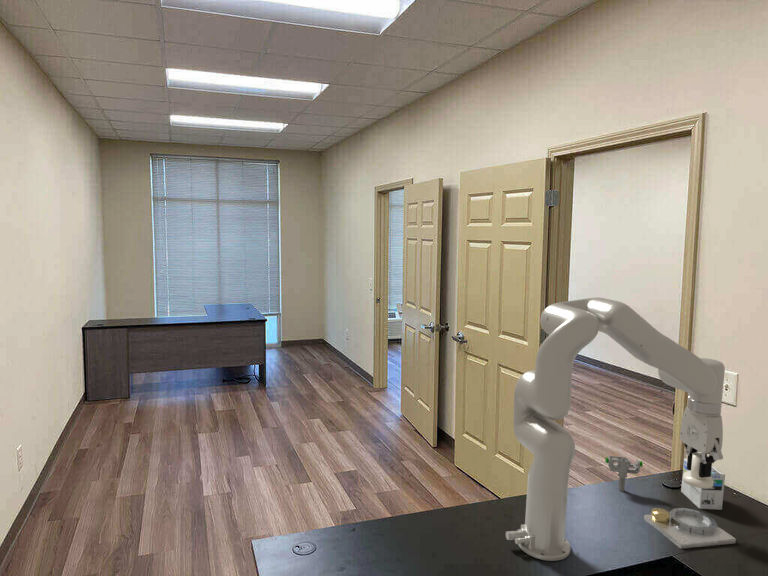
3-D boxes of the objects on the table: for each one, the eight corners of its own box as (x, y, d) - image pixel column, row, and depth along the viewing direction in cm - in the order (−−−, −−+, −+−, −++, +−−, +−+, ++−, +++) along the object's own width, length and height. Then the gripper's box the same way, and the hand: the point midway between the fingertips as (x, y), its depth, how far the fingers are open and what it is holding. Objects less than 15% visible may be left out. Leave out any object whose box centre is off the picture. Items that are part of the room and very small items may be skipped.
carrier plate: (680, 548, 138) (681, 536, 138) (643, 519, 152) (644, 508, 151) (735, 543, 141) (736, 531, 141) (694, 514, 155) (695, 503, 154)
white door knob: (696, 489, 143) (698, 461, 142) (676, 477, 150) (679, 450, 149) (719, 487, 144) (722, 460, 143) (699, 475, 151) (701, 449, 150)
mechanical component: (640, 494, 166) (643, 462, 164) (604, 490, 168) (606, 459, 166) (638, 490, 168) (640, 458, 167) (602, 486, 170) (605, 455, 169)
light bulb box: (722, 510, 158) (726, 474, 157) (699, 509, 158) (702, 473, 157) (701, 492, 169) (705, 458, 167) (679, 491, 169) (683, 457, 167)
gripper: (669, 397, 152) (664, 460, 154) (716, 418, 136) (710, 489, 138) (693, 395, 153) (688, 459, 156) (742, 416, 137) (736, 486, 139)
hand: (698, 472), depth 147 cm, fingers closed on white door knob, 3 cm apart
